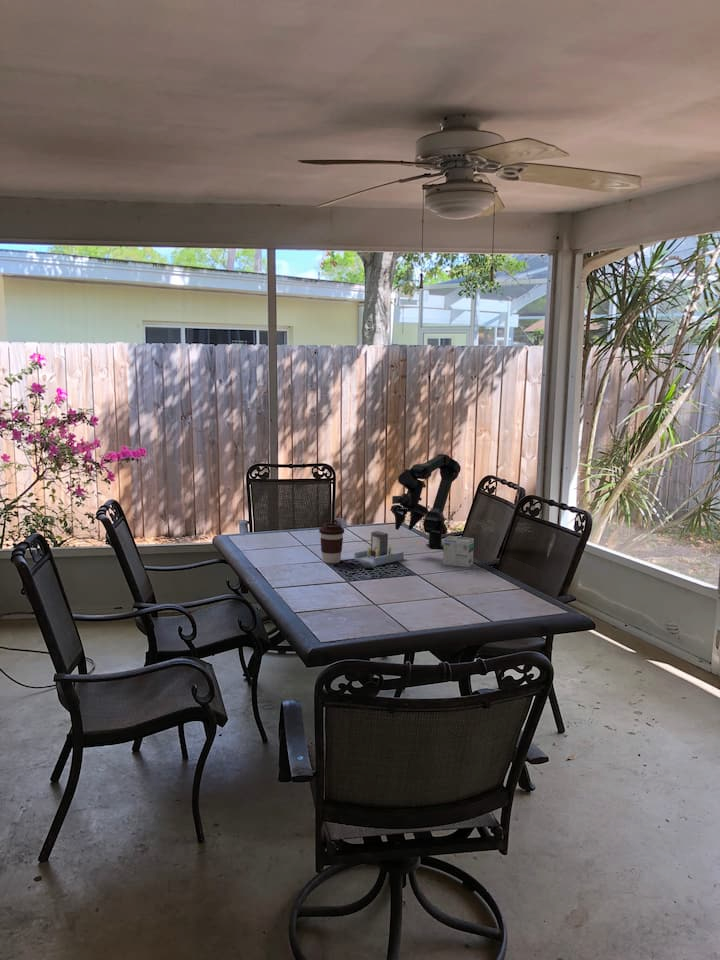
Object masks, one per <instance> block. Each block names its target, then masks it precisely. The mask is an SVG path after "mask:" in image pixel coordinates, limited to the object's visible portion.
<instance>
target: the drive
mask: <svg viewBox="0 0 720 960" xmlns="http://www.w3.org/2000/svg"><path fill="white" fill-rule="evenodd" d="M370 533H371V534H370V537H371V538H370V549H371V557H376V550H379V557H380V556H384V555H387V552H388V547H389V546H388V545H389V544H388V542H389V533H387V532H382V531H379V530H375V531H372V532H370Z"/></svg>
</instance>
